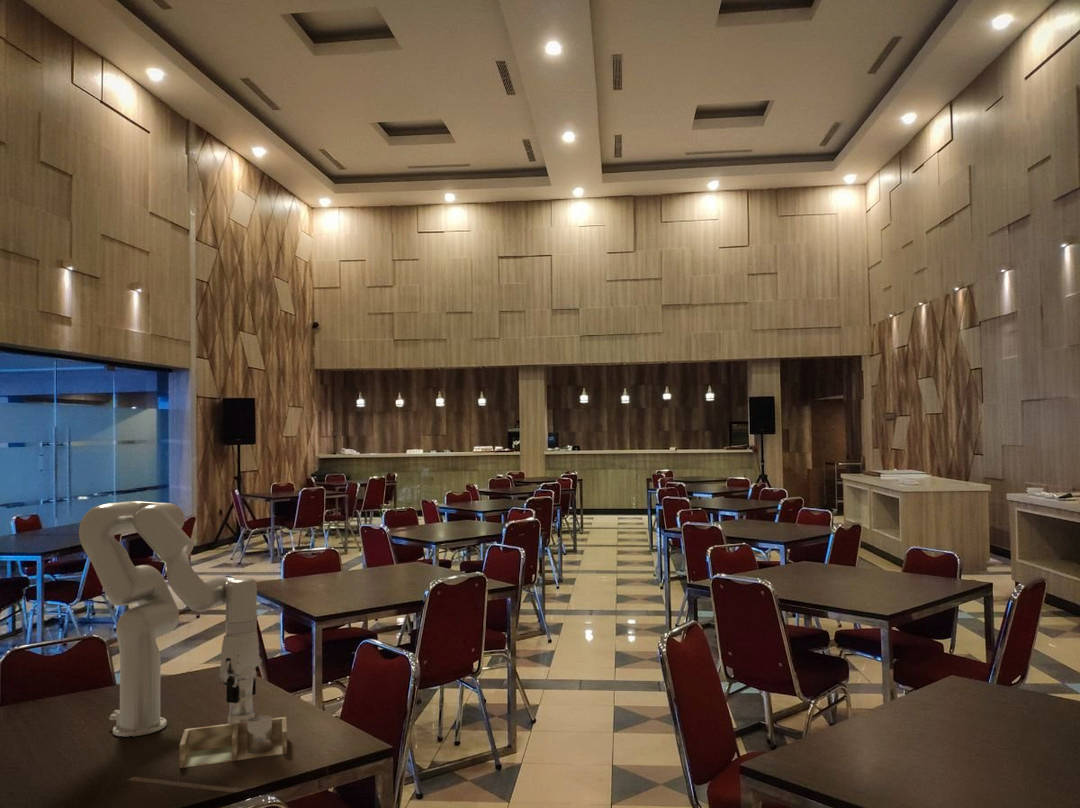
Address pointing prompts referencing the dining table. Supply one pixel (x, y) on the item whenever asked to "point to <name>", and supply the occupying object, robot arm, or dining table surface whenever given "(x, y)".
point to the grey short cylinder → (259, 734)
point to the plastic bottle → (243, 698)
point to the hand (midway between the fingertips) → (241, 697)
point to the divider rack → (226, 743)
